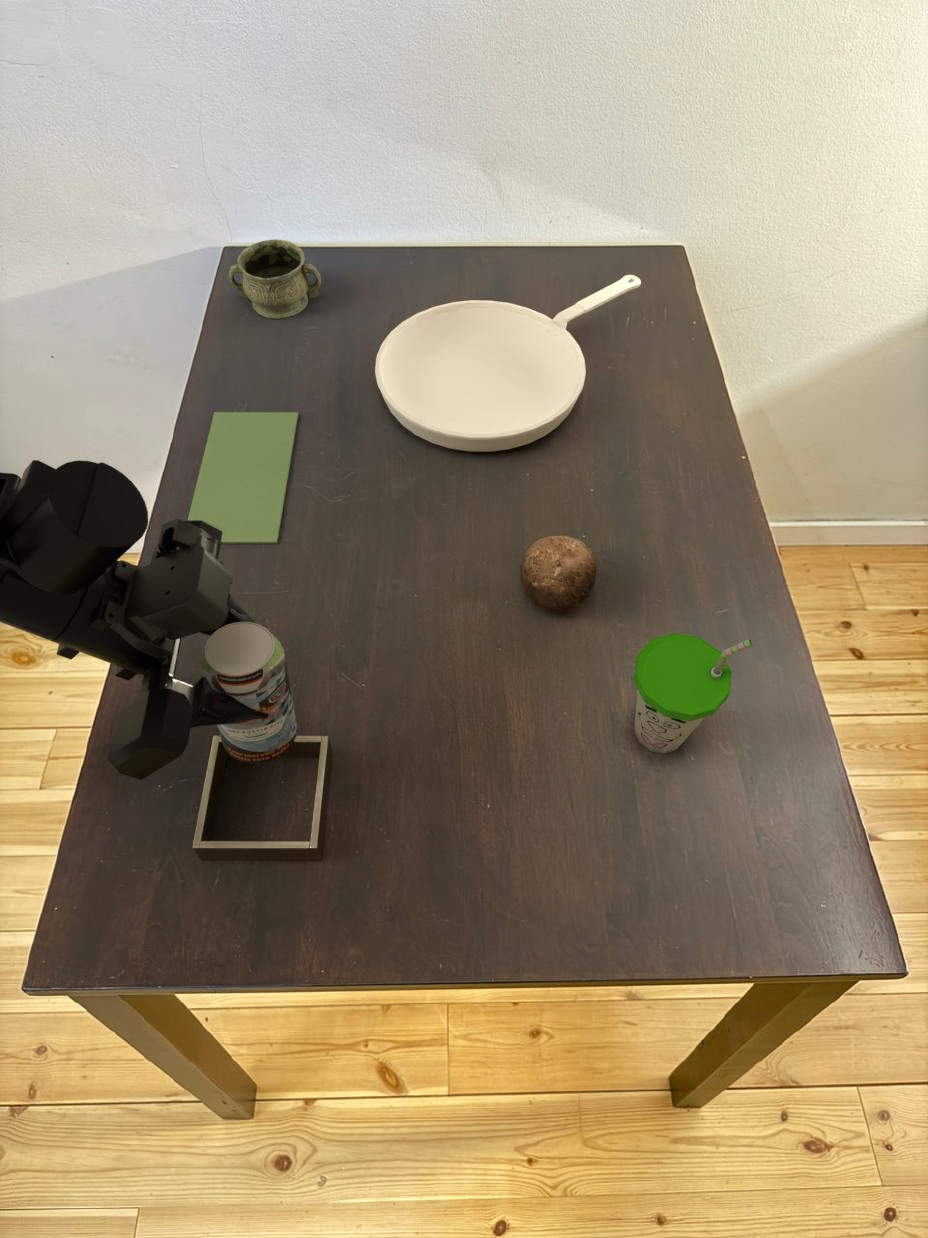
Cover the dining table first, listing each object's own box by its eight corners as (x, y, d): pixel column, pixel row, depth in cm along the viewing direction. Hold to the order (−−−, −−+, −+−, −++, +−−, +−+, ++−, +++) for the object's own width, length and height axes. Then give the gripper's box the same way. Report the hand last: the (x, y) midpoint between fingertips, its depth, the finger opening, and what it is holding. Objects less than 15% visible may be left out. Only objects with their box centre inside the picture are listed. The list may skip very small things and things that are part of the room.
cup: (601, 744, 76) (628, 656, 64) (637, 680, 80) (669, 585, 68) (682, 786, 74) (726, 703, 62) (715, 718, 78) (763, 626, 65)
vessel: (327, 281, 116) (321, 238, 111) (320, 322, 111) (314, 279, 106) (240, 281, 116) (230, 238, 111) (229, 321, 111) (218, 278, 106)
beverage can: (220, 772, 68) (181, 703, 58) (231, 690, 72) (196, 612, 62) (299, 770, 68) (274, 701, 58) (305, 689, 72) (283, 611, 62)
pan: (337, 377, 105) (332, 347, 101) (568, 263, 118) (571, 233, 115) (463, 494, 94) (464, 465, 90) (702, 353, 107) (710, 324, 104)
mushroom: (602, 533, 86) (581, 518, 81) (614, 609, 84) (593, 600, 79) (531, 551, 90) (506, 538, 84) (540, 624, 88) (515, 616, 82)
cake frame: (201, 860, 70) (191, 848, 68) (221, 750, 76) (213, 735, 73) (321, 860, 70) (316, 848, 68) (332, 750, 76) (328, 735, 73)
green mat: (182, 543, 90) (182, 541, 89) (214, 413, 101) (214, 411, 101) (277, 543, 90) (276, 541, 89) (298, 414, 101) (298, 412, 101)
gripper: (98, 677, 45) (329, 760, 55) (157, 433, 56) (342, 538, 65) (11, 746, 52) (232, 810, 61) (79, 515, 62) (258, 600, 72)
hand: (269, 682), depth 65 cm, fingers closed on beverage can, 6 cm apart
